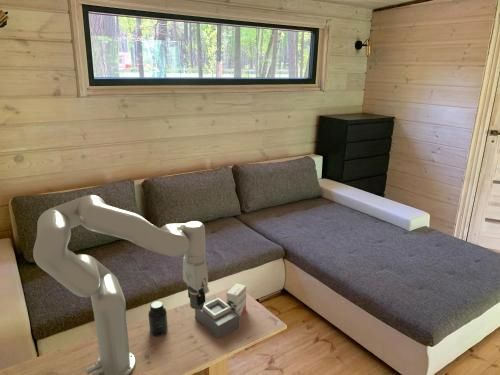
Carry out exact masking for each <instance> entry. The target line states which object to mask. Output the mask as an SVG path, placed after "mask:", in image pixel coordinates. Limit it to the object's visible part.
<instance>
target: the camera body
mask: <svg viewBox="0 0 500 375" xmlns="http://www.w3.org/2000/svg"><path fill="white" fill-rule="evenodd" d="M194 318H195V319H196V320H197V321H198V322H200V323H201V324H202V325H203V326H204V327H205V328H206V329H207V330H208V331H210V333H211V334H213V335H214V336H215V337H216V338H217V339H222V338H223V337H224V336H226V335H228V334H229V333H232V332H233V331H235V330H236V329H239V328H240V317H239V314H238V313H236V312H235V311H234V310H232V309H231V307H230V306H229V305H228V304H227V302H225V301H224V300H222V299H221V298H220V297H218V296H216V295H213V296H211V297H209V298H207V299H205V303H204V306H203V307H202V308H200V309H194Z"/></svg>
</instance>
